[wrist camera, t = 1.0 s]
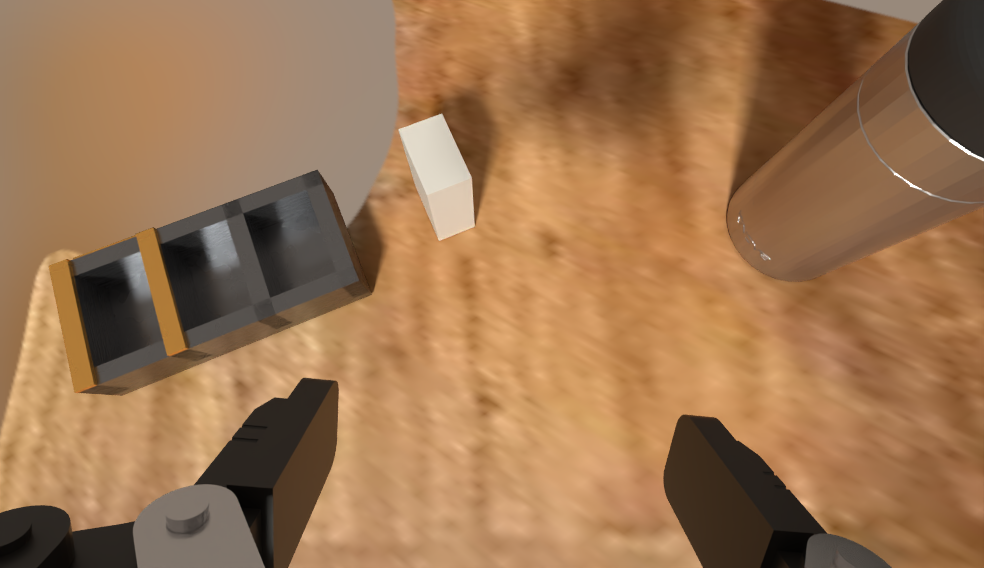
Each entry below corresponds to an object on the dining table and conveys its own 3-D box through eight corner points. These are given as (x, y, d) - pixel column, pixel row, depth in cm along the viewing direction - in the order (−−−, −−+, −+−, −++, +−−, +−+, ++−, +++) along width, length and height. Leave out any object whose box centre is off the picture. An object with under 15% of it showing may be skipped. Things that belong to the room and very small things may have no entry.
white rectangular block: (450, 173, 39) (441, 113, 32) (474, 226, 38) (471, 178, 30) (415, 186, 39) (398, 129, 31) (438, 240, 38) (426, 195, 30)
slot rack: (332, 190, 39) (314, 164, 35) (371, 294, 37) (357, 279, 33) (94, 278, 37) (47, 261, 33) (121, 395, 34) (74, 392, 31)
